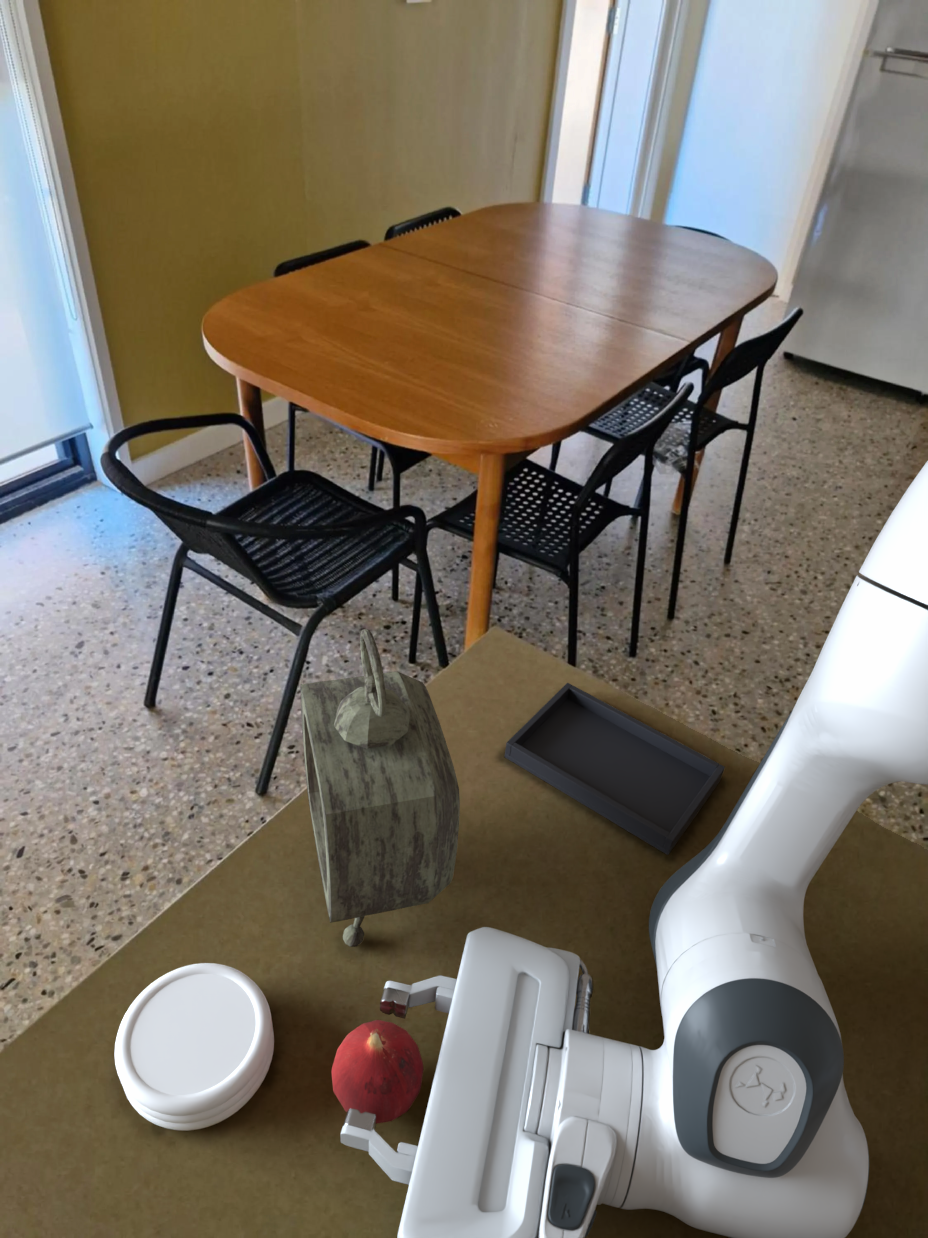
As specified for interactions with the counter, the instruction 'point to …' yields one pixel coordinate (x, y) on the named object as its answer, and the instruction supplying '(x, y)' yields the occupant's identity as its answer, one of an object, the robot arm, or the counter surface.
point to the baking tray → (616, 766)
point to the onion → (378, 1070)
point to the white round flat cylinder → (194, 1046)
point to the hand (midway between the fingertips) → (364, 1057)
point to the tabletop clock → (378, 792)
